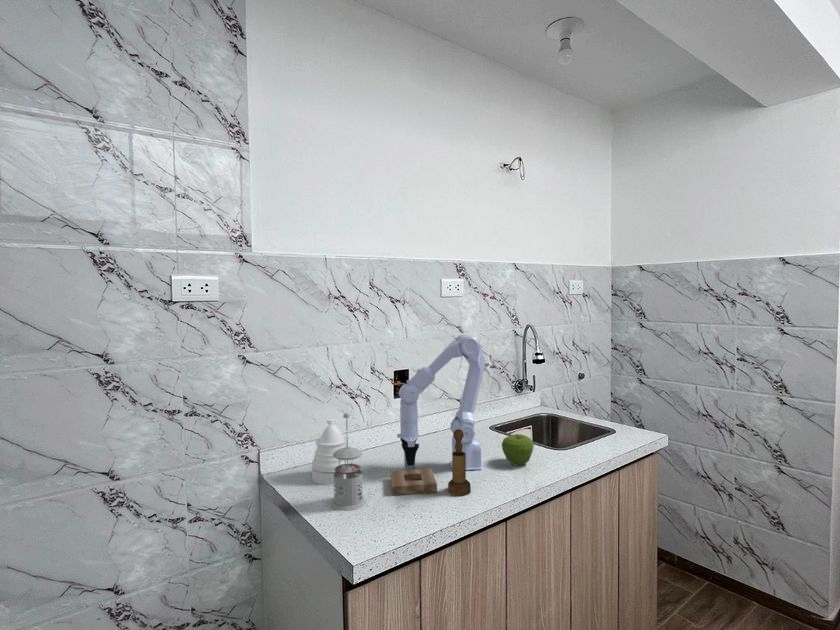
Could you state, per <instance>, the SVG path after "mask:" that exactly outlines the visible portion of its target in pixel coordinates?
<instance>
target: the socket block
mask: <svg viewBox="0 0 840 630" xmlns="http://www.w3.org/2000/svg"><path fill="white" fill-rule="evenodd" d="M390 485H391V495H392V496H404V495H405V496H406V495H418V494H419V495H421V494H437V493H438V483H437V480H436V478H435V474H434V472H433V469H432V468H425V469H423V468H422V469H415V470H405V469H403V470H402V469H401V470H391V471H390Z"/></svg>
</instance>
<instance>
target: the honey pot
mask: <svg viewBox="0 0 840 630" xmlns="http://www.w3.org/2000/svg"><path fill="white" fill-rule="evenodd" d="M335 420H336V419H335V418H327V419H326V424H328V426H327V427H326V428H324V431H323V432H322V434H321V435H320V437H318V438H317V439H316V440H315V445H316V446H317V447H316V449H315V451H314V455H313V459H312V463H311V465H312V466H311V468H312V469H311V472H312V473H311V475H312V481H313V482H314V483H316V484H318V485H324V486H325V485H326V486H327V485H334V484H336V483H335V482H334V473H335V472H336V471H335V468H336V467H337V466H339V459H336V458H335V457H333V453H334V452H336V451H337V450H339V449H341V448H345V447H347V436H344V435H343V433H342V431H341V429H340V428H338V426H337V425H335ZM353 460H354V459H352V460H348V464H349V463H351V464H354V462H353ZM342 464H345V460H340V465H342ZM346 464H347V460H346ZM343 475H344V479H346V474H343Z"/></svg>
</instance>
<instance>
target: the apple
mask: <svg viewBox="0 0 840 630" xmlns="http://www.w3.org/2000/svg"><path fill="white" fill-rule="evenodd" d="M534 446H535V445H534V442H533V440H532V438H530V437H529V436H527V435H524V434H512V435H508V436H506V437H504V438H503V441H502V442H501V447H502V448H501V449H502V452H503V454H504V456H505V458H506V460H507V461H508V462H510V463H511V464H512V465H513V466H524V465H525V464H527V463H528V462H529V461H530V459H531V456H532V454H533V451H534Z"/></svg>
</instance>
